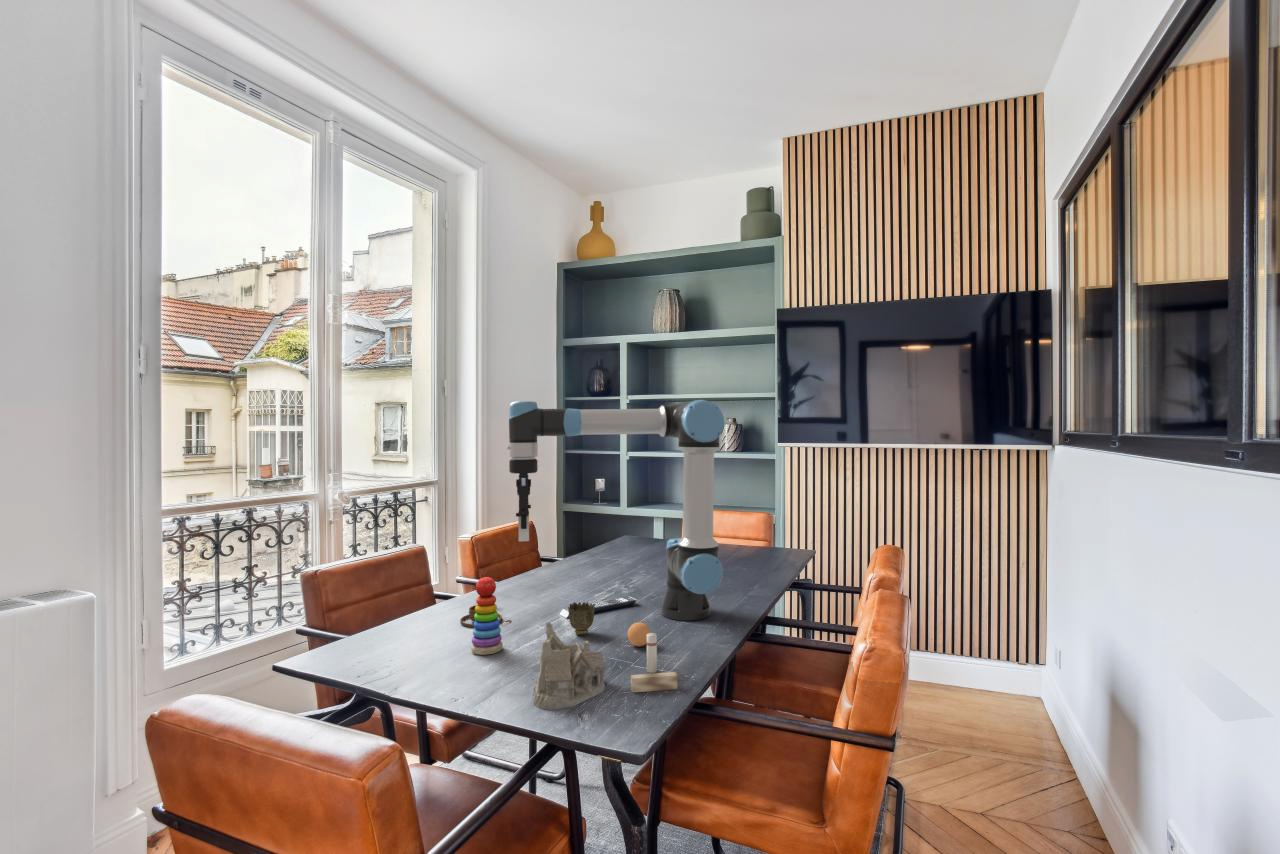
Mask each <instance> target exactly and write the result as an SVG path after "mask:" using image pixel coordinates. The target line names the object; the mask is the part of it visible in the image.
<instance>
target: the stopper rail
mask: <svg viewBox="0 0 1280 854" xmlns="http://www.w3.org/2000/svg"><path fill="white" fill-rule="evenodd" d="M677 689H678V674H677V672H676V671H669V672H665V671H664V672H655V673H640V674H631V675H630V690H631V693H632V694H633V693H641V692H655V691H671V690H677Z"/></svg>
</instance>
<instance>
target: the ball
mask: <svg viewBox="0 0 1280 854" xmlns="http://www.w3.org/2000/svg"><path fill="white" fill-rule="evenodd" d="M648 633H651V630H650V628H649V626H648V625H647V624H646V623H643V622H639V621H638V622H635V623H632V624H631V625H630V626H629V628H628V631H627V638H628V641H629V643H630V644H632V645H633V646H635V647H643V646H645V645H647V644H646V641H647V634H648Z"/></svg>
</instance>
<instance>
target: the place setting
mask: <svg viewBox="0 0 1280 854" xmlns="http://www.w3.org/2000/svg"><path fill="white" fill-rule="evenodd" d="M477 605H478V604H476V605H472V606H470V607H469V608H468V614H467V615H464V616H462V617H461V618H460V619H459V620H460V622H459V623H460V624H461V626H463V627H465V628H469V627H471V628H470V629H474V628H475V627H474V622H475V621H476V620H475V618H474V615H475V613H476V611H475V607H476V606H477ZM468 618H470V619H468ZM498 618H499V621H500V623H501V622H502V620H503V616H502V615H501V614H500V613H498ZM466 619H467V620H470V621H472V622H473V623H467V622H465V621H467V620H466ZM464 620H465V621H464ZM463 621H464V622H463ZM504 622H506V625H508V622H509V624H511V623H512V619H508V620H505V621H504Z"/></svg>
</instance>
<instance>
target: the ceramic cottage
mask: <svg viewBox="0 0 1280 854" xmlns="http://www.w3.org/2000/svg"><path fill="white" fill-rule="evenodd" d="M545 626H546V627H545V628H546V629H545V633H546V639H544V640H543V641H542V647H541V651H540V656H539V657H540V659H539V660H540V661H539V662H540V663H539V664H540V665H539V666H540V667H539V673H538V676H537V679H536V680H535V684H534V685H533V693H532V696H533V697H532V700H533V702H532V703H533V706H534V707H536V708H539V709H542V710H561V709H566V708H572V707H575V706H577V705H579V704H580V703H581V704H582V702H585V701H587V700H590V698H593V697H595V696H598V695H599V694H601V693H603V692H604V691H605V689H606V684H605V681H604V677H605V672H606V671H605V666H604V665H605V663H604V658H603V657H604V656H603V652H602V650H596V651H590V641H588V640H583V642H582V644H583V645H581V644H580V643H578V642H576V643H574V644H573V643H572V644H564V642H563V641H562V640H561V639H560V637H559V636H558V635H557V634H556V631H554V628H553V624H552V621H547V622H546V623H545Z"/></svg>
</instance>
